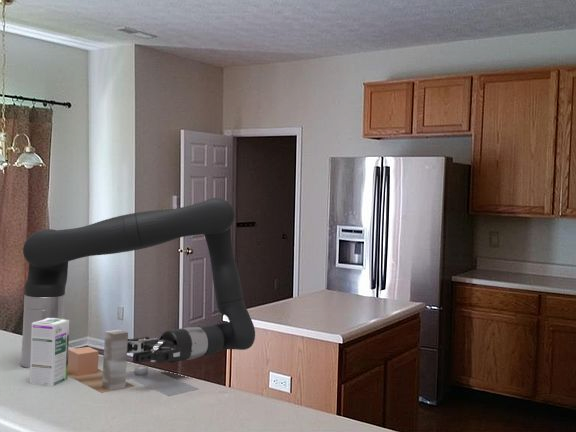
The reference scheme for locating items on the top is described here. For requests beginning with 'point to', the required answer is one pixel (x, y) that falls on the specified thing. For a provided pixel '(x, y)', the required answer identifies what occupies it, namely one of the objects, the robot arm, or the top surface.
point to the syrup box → (49, 351)
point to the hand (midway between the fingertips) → (123, 354)
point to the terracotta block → (83, 361)
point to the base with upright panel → (110, 365)
